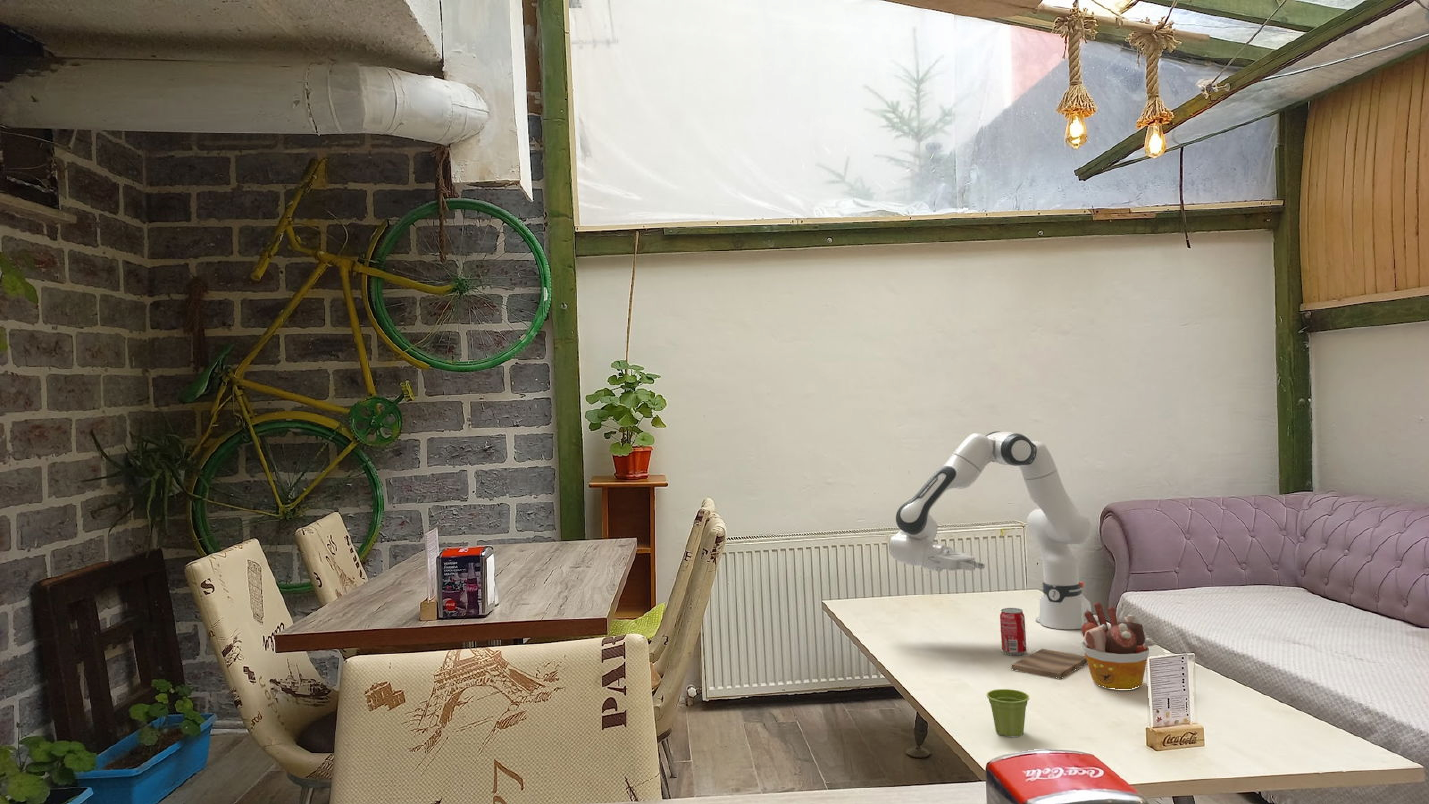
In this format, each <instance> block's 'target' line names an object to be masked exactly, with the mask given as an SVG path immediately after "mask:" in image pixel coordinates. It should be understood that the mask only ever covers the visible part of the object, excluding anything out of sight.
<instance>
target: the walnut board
mask: <svg viewBox="0 0 1429 804" xmlns="http://www.w3.org/2000/svg"><path fill="white" fill-rule="evenodd" d="M1086 663H1087V659H1086V655H1081V654H1074V653H1070V652H1069V653H1068V652H1064V651H1059V650H1058V651H1057V650H1053V649H1046V648H1040V649H1039V650H1037V651H1035V652H1033V653H1032V654H1031V653H1030V654H1029V655H1027V656H1025V657H1023V658H1021V659H1019V660H1017V661H1016V662H1013V663H1011V670H1012V669H1013V670H1012V671H1015V670H1018V671H1017V672H1020V671H1021V672H1022V673H1026V672H1027V674H1030V675H1031V674H1032V675H1036V674H1037V675H1036V676H1041V677H1046V676H1047V677H1046V678H1052V677H1055V678H1054V679H1057V678H1061V679H1063V678H1064V676H1065V677H1066V676H1068V675H1069V673H1070V672H1071V673H1073V672H1075V671H1076V670H1078V669H1080V668H1081V666H1082V667H1083V666H1085V665H1087V664H1088V663H1087V664H1086ZM1084 664H1085V665H1084ZM1075 669H1076V670H1075ZM1074 670H1075V671H1074ZM1072 671H1073V672H1072ZM1071 673H1070V674H1071ZM1067 674H1068V675H1067ZM1056 677H1057V678H1056ZM1062 677H1063V678H1062Z"/></svg>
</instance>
